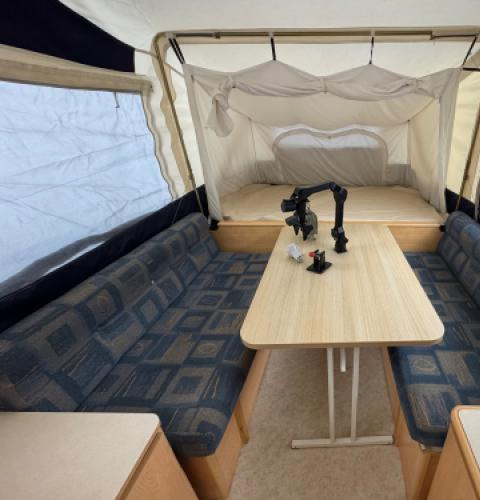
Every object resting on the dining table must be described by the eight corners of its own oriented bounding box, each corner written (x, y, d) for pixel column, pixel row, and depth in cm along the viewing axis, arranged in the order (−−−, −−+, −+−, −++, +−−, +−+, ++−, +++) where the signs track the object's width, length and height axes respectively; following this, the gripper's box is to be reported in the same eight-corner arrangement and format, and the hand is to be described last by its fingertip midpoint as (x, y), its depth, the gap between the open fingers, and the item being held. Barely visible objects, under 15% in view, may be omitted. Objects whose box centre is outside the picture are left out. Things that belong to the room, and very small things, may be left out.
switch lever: (312, 258, 135) (313, 252, 135) (307, 256, 136) (308, 251, 136) (322, 257, 145) (323, 252, 145) (317, 256, 146) (318, 251, 146)
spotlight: (298, 251, 163) (296, 240, 158) (307, 261, 156) (305, 250, 151) (286, 256, 160) (284, 245, 155) (295, 266, 153) (293, 256, 147)
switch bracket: (320, 274, 141) (320, 257, 137) (306, 269, 145) (306, 253, 141) (331, 264, 150) (331, 249, 146) (318, 261, 154) (318, 245, 150)
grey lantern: (318, 240, 182) (317, 205, 171) (305, 242, 179) (304, 206, 168) (311, 233, 194) (310, 199, 183) (299, 234, 191) (298, 200, 180)
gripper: (279, 207, 144) (280, 234, 150) (294, 216, 130) (294, 246, 136) (297, 206, 150) (297, 232, 156) (314, 214, 136) (313, 242, 142)
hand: (300, 238), depth 148 cm, fingers open, 9 cm apart
